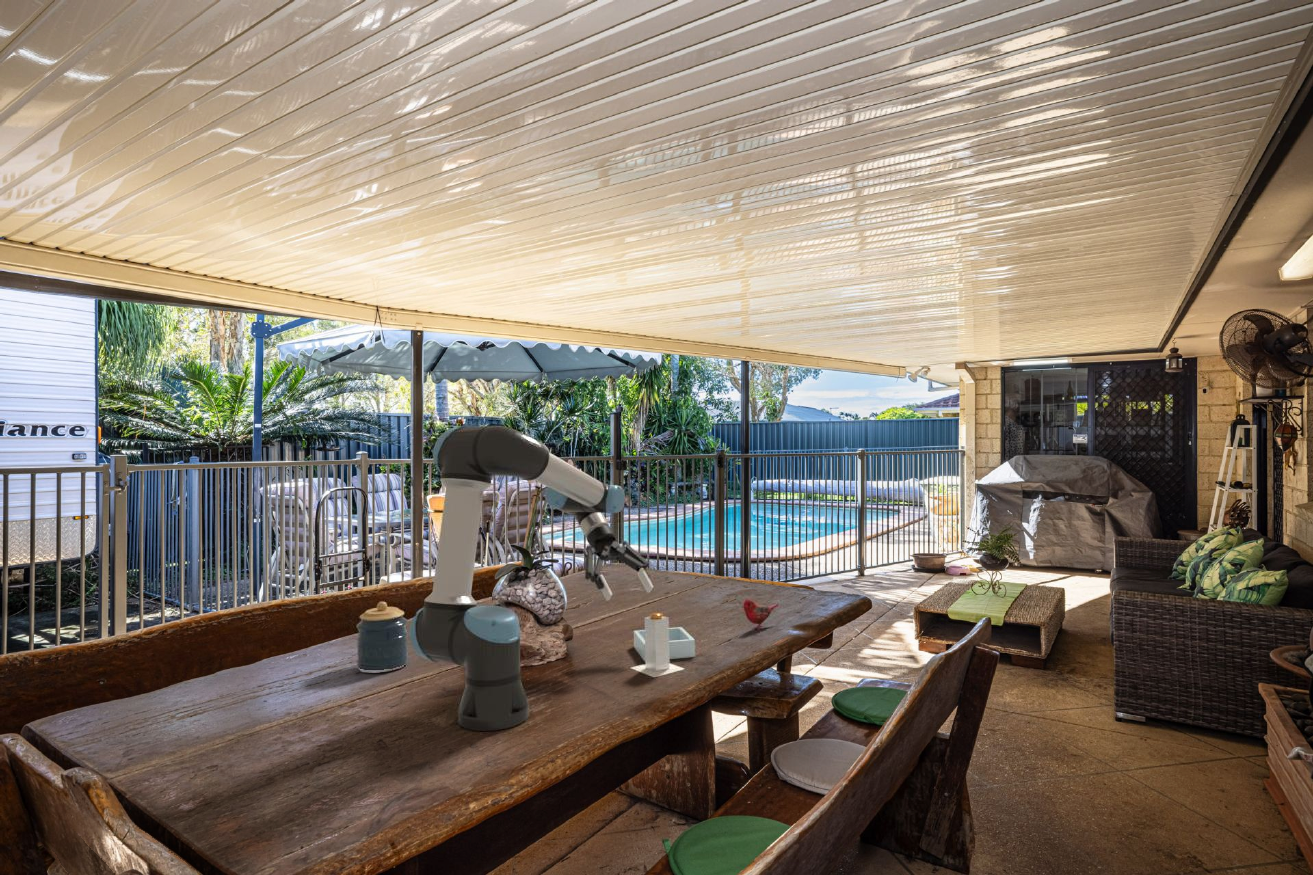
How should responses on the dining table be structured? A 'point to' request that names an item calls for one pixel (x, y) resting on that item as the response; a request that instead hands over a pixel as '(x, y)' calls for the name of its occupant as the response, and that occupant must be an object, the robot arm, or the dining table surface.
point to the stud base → (655, 674)
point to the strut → (657, 642)
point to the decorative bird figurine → (757, 612)
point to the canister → (382, 638)
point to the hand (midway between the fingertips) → (630, 593)
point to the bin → (678, 643)
